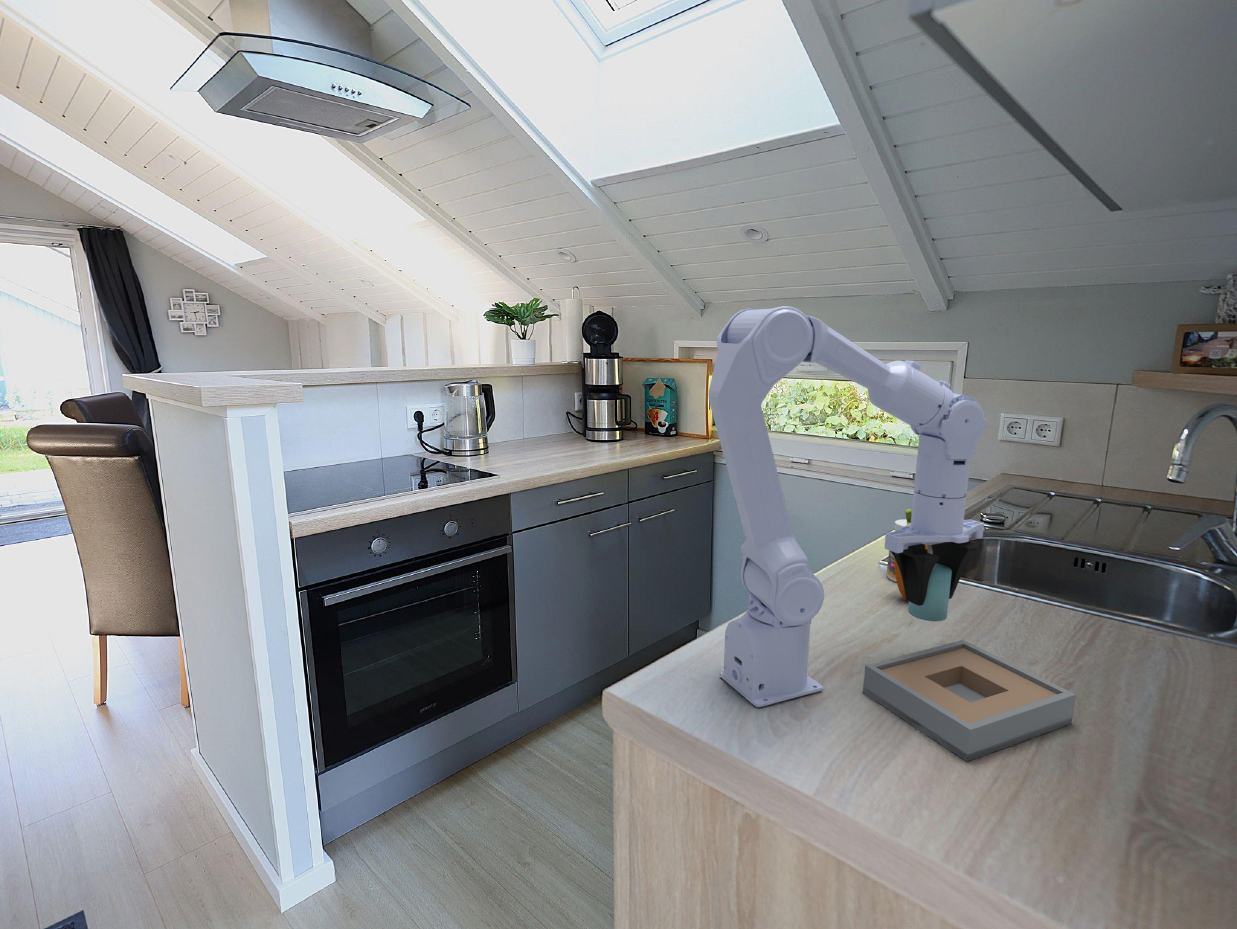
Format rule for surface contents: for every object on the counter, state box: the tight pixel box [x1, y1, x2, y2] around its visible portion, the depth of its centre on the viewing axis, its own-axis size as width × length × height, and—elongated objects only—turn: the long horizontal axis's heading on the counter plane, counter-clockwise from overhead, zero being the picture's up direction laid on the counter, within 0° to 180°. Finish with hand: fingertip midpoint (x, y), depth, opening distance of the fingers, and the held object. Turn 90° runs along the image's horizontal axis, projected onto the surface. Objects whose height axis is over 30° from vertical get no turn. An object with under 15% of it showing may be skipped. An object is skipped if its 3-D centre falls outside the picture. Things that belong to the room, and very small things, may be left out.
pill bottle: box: [886, 518, 907, 583], centre depth 113 cm, size 6×6×10 cm
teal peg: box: [907, 563, 952, 622], centre depth 83 cm, size 4×4×6 cm
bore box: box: [862, 639, 1077, 763], centre depth 75 cm, size 16×14×4 cm
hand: (928, 599), depth 84 cm, fingers closed on teal peg, 4 cm apart
